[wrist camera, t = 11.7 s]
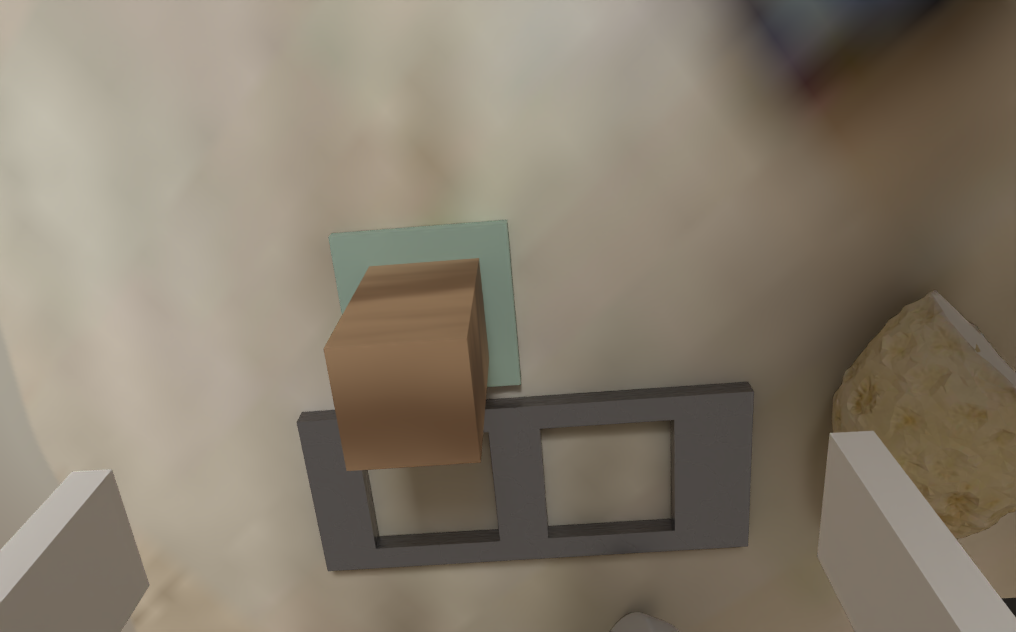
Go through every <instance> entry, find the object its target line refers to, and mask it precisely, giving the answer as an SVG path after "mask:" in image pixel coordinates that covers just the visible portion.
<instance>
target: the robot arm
mask: <svg viewBox="0 0 1016 632" xmlns="http://www.w3.org/2000/svg"><path fill="white" fill-rule="evenodd" d="M817 557H818V559H819V561H820V563H821V565H822V567H823V569H824V571H825V573H826V575H827V577H828V579H829V581H830V583H831V585H832V587H833V589H834V591H835V593H836V595H837V597H838V599H839V601H840V603H841V605H842V607H843V609H844V611H845V613H846V615H847V617H848V619H849V621H850V623H851V625H852V627H853V629H854V631H855V632H1016V598H1002V599H1001V597H1000V596H999V595H998V594H997V592H996V591H995V590H994V588H993V587H992V586H991V584H990V583H989V582H988V580H987V579H986V578H985V576H984V575H983V574H982V572H981V571H980V570H979V569H978V567H977V566H976V565H975V563H974V562H973V561H972V559H971V558H970V557H969V555H968V554H967V553H966V551H965V550H964V549H963V548H962V546H961V545H960V544H959V542H958V541H957V540H956V538H955V537H954V536H953V534H952V533H951V532H950V530H949V529H948V528H947V527H946V525H945V524H944V523H943V521H942V520H941V519H940V517H939V516H938V515H937V513H936V512H935V511H934V509H933V508H932V507H931V505H930V504H929V503H928V502H927V500H926V499H925V498H924V496H923V495H922V494H921V492H920V491H919V490H918V488H917V487H916V486H915V484H914V483H913V482H912V481H911V479H910V478H909V477H908V475H907V474H906V473H905V471H904V470H903V469H902V467H901V466H900V465H899V463H898V462H897V461H896V460H895V458H894V457H893V456H892V454H891V453H890V452H889V450H888V449H887V448H886V446H885V445H884V444H883V442H882V441H881V440H880V438H879V437H878V436H877V435H876V433H875V432H874V431H858V432H839V433H830V435H829V445H828V454H827V464H826V474H825V484H824V494H823V504H822V513H821V523H820V533H819V543H818V553H817ZM148 587H149V582H148V579H147V576H146V573H145V570H144V567H143V564H142V561H141V557H140V554H139V551H138V548H137V545H136V542H135V539H134V536H133V533H132V530H131V526H130V523H129V520H128V517H127V514H126V511H125V508H124V505H123V502H122V499H121V495H120V492H119V489H118V486H117V483H116V480H115V477H114V474H113V471H112V469H110V470H90V471H72V472H71V473H70V474H69V475H68V477H67V478H66V479H65V480H64V481H63V482H62V483H61V484H60V485H59V486H58V487H57V489H56V490H55V491H54V492H53V493H52V494H51V495H50V496H49V497H48V498H47V499H46V501H45V502H44V503H43V504H42V505H41V506H40V507H39V508H38V509H37V510H36V511H35V513H34V514H33V515H32V516H31V517H30V518H29V519H28V520H27V521H26V522H25V524H24V525H23V526H22V527H21V528H20V529H19V530H18V531H17V532H16V533H15V534H14V536H13V537H12V538H11V539H10V540H9V541H8V542H7V543H6V544H5V545H4V546H3V548H2V549H1V550H0V632H121V631H122V629H123V627H124V626H125V624H126V622H127V621H128V619H129V618H130V616H131V614H132V613H133V611H134V610H135V608H136V606H137V605H138V603H139V601H140V600H141V598H142V597H143V595H144V593H145V592H146V590H147V589H148Z"/></svg>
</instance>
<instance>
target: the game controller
mask: <svg viewBox="0 0 1016 632" xmlns="http://www.w3.org/2000/svg"><path fill="white" fill-rule="evenodd" d="M610 632H679V630H678V629H677V628H676V627H675V626H673V625H672V624H670V623H668V622H666V621H663V620H660V619H658V618H655V617H652V616H650V615H647V614H644V613H641V612H633V613H629V614H627V615H626V616H624V617H623V618H621V619H620V620H619V621H618V622H617V623H616V624H615V626H614V627H613V628H612V629H611V631H610Z"/></svg>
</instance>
